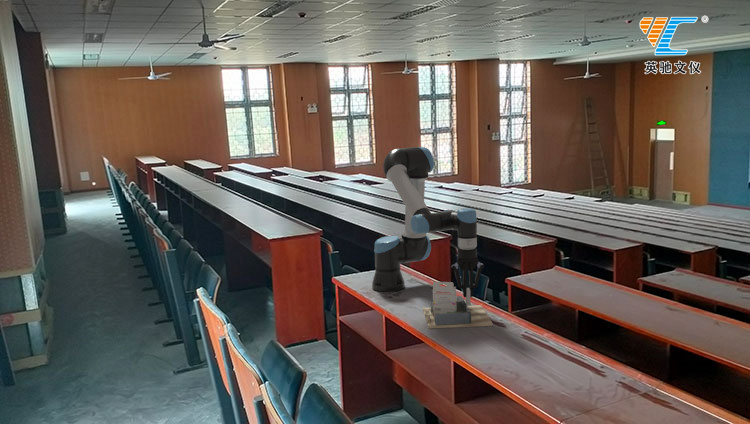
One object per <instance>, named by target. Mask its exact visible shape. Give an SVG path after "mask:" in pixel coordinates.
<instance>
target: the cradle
mask: <svg viewBox="0 0 750 424" xmlns="http://www.w3.org/2000/svg"><path fill="white" fill-rule="evenodd" d="M467 307H468V308H469V310H470V312H471V323H467V324H444V325H435V318H434V317H433V312H431V307H422V311H423V316H424V318H425V320H426V325H427V328H428V329H444V328H445V329H449V328H470V327H474V328H475V327H490V326H491V327H492V326H493V321H492V320H491V318H490V317H489V315H488V314H487V312H486V311H485V309H484V308H483V307H484V306H482V305H479V304H478V305H477V304H476V305H471V306H467ZM457 313H463V312H462V311H457Z"/></svg>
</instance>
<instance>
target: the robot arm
mask: <svg viewBox="0 0 750 424" xmlns="http://www.w3.org/2000/svg"><path fill="white" fill-rule="evenodd" d="M434 167H435V161H434V156H433V154H432V152H431V151H430V149H428V147H425V146H424V147H423V146H413V147H411V146H410V147H403V148H402V147H401V148H400V147H398V148H393V149H392V150H391V151H389V152H388V153H387V154H386V156H385V157H384V160H383V163H382V170H383V173H384V176H385V178H386V180H387V181H388V182H391V183H392V186H393V187H394V189H395V191H396V192H397V193H398V196H399V197H400V199H401V200H402V202H403V204H404V205H405V209H404V211H405V212H404V213H405V214H404V230H403V231H402V232H401V238H400V237H399V236H397V235H391V236H382V237H380V238H378V239H376V240H375V242H374V249H373V251H374V268H375V272H374V275H373V279H372V283H371V287H372V289H373V290H375V291H377V292H378V291H379V292H387V293H388V292H396V291H397V292H398V291H401V290H403V289H404V288H405V286H406V285H405V280H404V278H403V277H404V276H403V273H402V271H401V264H406V263H414V262H420V261H424V260H427V258H428V257H429V256H430V254H431V250H432V243H431V239H430V237H429V236H428V235H427V233H435V232H442V231H451V230H452V231H456V232H457V247H458V248H457V260H456V262H455V263H454V264H451V268H452V270H453V271H454V276H455V279H456V283H457V286H458V288H459V289H462V297H463V298H465V303H466V305H467V306H472V305H471V298H473V297H474V289H476V288H478V286H479V282H480V277H481V273H482V270H483V269H484V267H485V265H484V263H482V262H480V261H479V260H478V249H477V246H478V242H477V241H478V236H477V235H478V233H477V231H478V229H477V227H478V225H477V223H478V222H477V221H478V219H477V210H476V209H474V208H470V207H469V208H467V207H466V208H459V209H457V211H456V210H453V209H446V210H444V211H441V212H434V213H433V212H431V210H430V209H429V207H428V206H427V204H426V203H425V186H426V185H425V184H426V183H425V182H426V181H427V179H428V178H429V173H431V172H432V171H433V170H434ZM476 267H477V269H476V273H475V277H474V270H475V268H476ZM459 268H460V269H461V270H462V282H461V278H460V277H461V276H460V273H459V271H458V269H459ZM467 272H468V275H467ZM467 276H468V277H467ZM467 278H468V282H467ZM467 283H468V286H467Z"/></svg>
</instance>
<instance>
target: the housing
mask: <svg viewBox="0 0 750 424" xmlns="http://www.w3.org/2000/svg"><path fill="white" fill-rule="evenodd" d="M429 303H430V305H429V306H430V307H431V312H433V301H430V302H429ZM456 306H457V311H462V312H463V313H441V314H435V325H444V324H467V323H471V312H470V310H469V308H468V307H467V305H466V300H464V297H463V295H456Z"/></svg>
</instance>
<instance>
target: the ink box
mask: <svg viewBox="0 0 750 424" xmlns="http://www.w3.org/2000/svg"><path fill="white" fill-rule="evenodd" d="M443 285H444V286H443ZM456 301H457V286H454V282H453V281H452V282H451V281H432V302H433V317H434V318H435V314H441V313H457V306H456Z"/></svg>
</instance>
